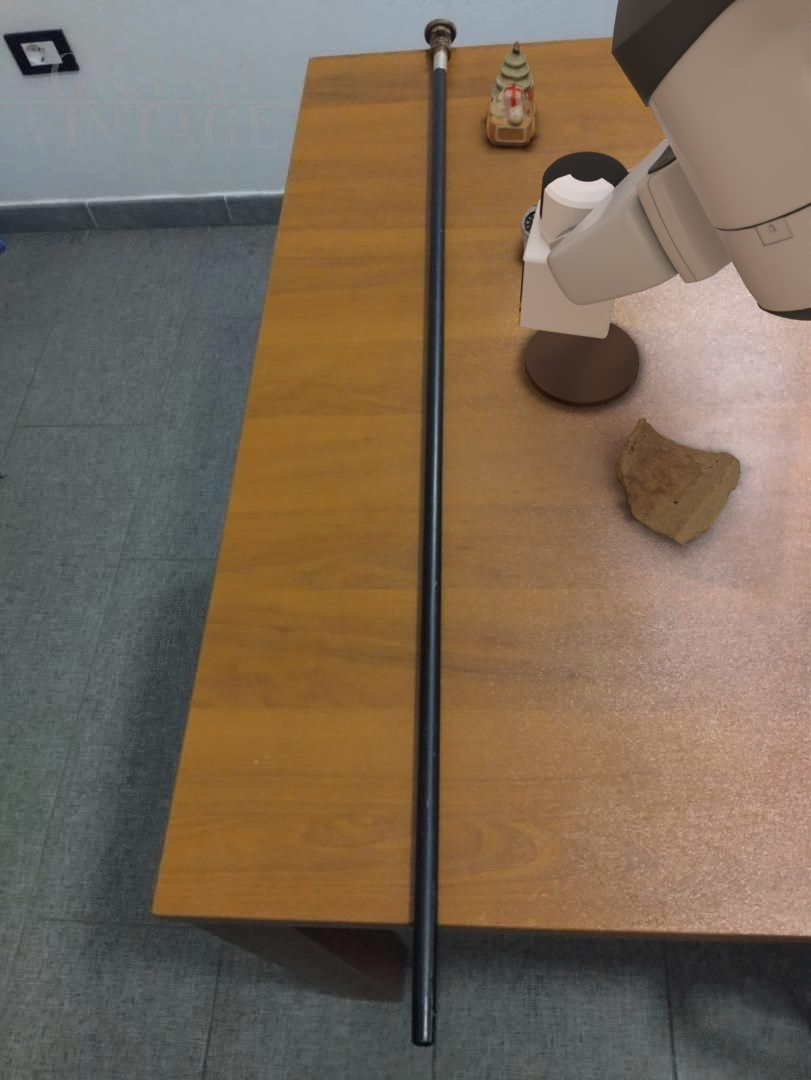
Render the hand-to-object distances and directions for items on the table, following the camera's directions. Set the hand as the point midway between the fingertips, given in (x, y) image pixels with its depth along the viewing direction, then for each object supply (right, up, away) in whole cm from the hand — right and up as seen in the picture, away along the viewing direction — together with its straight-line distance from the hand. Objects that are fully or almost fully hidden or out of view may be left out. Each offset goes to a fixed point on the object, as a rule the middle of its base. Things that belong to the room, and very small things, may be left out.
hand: (587, 220), depth 54 cm
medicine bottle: (0, -4, +8) cm, 8 cm away
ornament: (0, +27, +38) cm, 46 cm away
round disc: (+4, -6, +19) cm, 21 cm away
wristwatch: (+1, +9, +28) cm, 29 cm away
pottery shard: (+10, -19, +12) cm, 24 cm away
